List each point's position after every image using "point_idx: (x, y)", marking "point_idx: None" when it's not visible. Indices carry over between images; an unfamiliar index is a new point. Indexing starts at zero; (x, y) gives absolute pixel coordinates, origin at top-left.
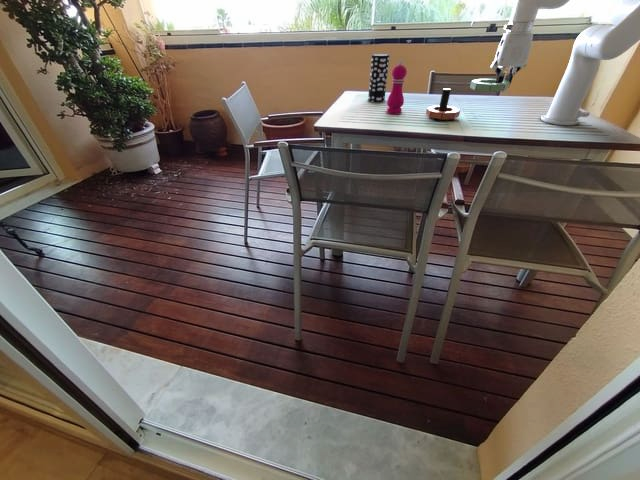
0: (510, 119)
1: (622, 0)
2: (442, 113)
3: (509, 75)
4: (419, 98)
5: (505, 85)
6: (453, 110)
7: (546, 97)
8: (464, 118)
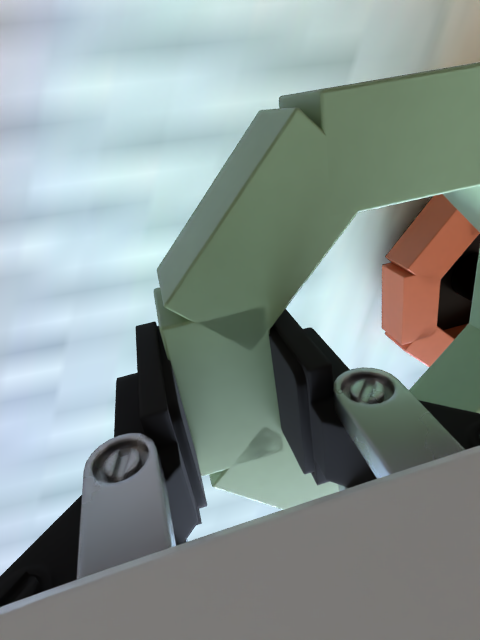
0: (22, 308)
1: None
2: None
3: (180, 460)
4: None
5: (284, 113)
6: (451, 261)
7: None
8: (331, 277)
